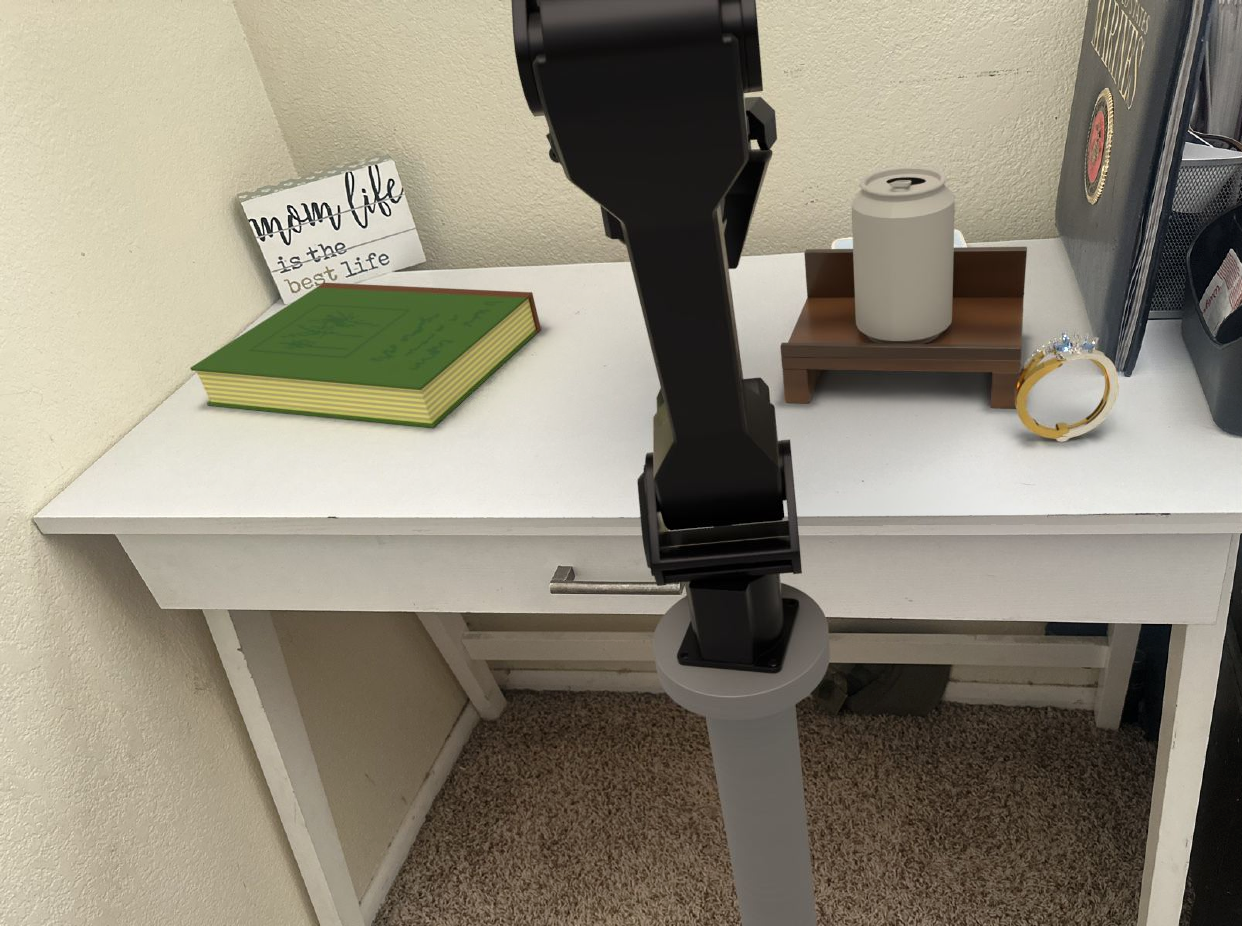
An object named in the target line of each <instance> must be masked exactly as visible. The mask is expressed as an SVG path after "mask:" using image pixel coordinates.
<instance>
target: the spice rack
mask: <svg viewBox="0 0 1242 926" xmlns="http://www.w3.org/2000/svg"><path fill="white" fill-rule="evenodd" d="M803 254H804V268H805V285H806V297H807V298H806V299H805V302H804V305H803V307H802V309H801V311H800V314H799V316H798V318H797V321H796V323H795V326H794V328H793V330H792V332H791V334H790V337H789V339H788V341H787V342H781V343H780V346H779V347H780V359H781V370H782V371H781V372H782V381H783V392H784V402H785V403H791V404H792V403H793V404H796V403H798V404H809V403H810V402H811V400H812V396H813V394H814V391H815V388H816V386H817V383H818V380H819V378H820V375H821V372H822V370H830V371H831V370H833V371H834V370H836V371H838V370H839V371H887V372H888V371H889V372H890V371H892V372H893V371H895V372H896V371H897V372H949V373H951V372H952V373H953V372H954V373H955V372H956V373H960V372H961V373H991V385H990V386H991V389H990V408H991V409H992V408H993V409H995V408H996V409H997V408H999V409H1016V405H1015V399H1014V391H1015V385H1016V381H1017V378H1018V376H1019V373H1020V371H1021V365H1022V350H1023V349H1022V348H1023V345H1022V343H1023V321H1024V300H1025V299H1024V298H1025V285H1026V272H1027V271H1026V270H1027V269H1026V267H1027V256H1028V255H1027V254H1028V246H972V247H971V246H970V247H968V246H967V247H956V248H954V255H953V298H952V322H951V324H950V325H949V326H948V328H947V329H946V330H944V331H943V332H942V333H940V335H939V336H938V337H937V338H935V339H934V340H932V341H930V342H927V343H924V344H879V343H875V342H874V341H872V340H871V339H869V338H868V336H867V335H865V334H864V333H863V332H861V331H860V330H859V329H858V327H857V325H856V314H855V287H854V260H853V249H831V248H810V249H809V248H808V249H807V248H806V249H805V251H804V253H803Z"/></svg>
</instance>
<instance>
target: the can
mask: <svg viewBox="0 0 1242 926" xmlns="http://www.w3.org/2000/svg"><path fill="white" fill-rule="evenodd" d="M947 178H948V177H947V175H946V174H945V173H944V172H943V171H942V170H939V169H937V168H934V167H928V166H921V165H902V166H901V165H900V166H892V167H886V168H882V169H878V170H874V171H872V172H870V173H868V174H866V175H864V176H863V177H862V178H861V179H860V181H859V188H860V190H859V191H858V193H857V194H856V195H855V196H854V197H853V199H852V202H851V227H852V229H851V230H852V237H853V260H854V287H855V314H856V325H857V327H858V329H859V330H860V331H861V332H863V333H864V334H865V335H867V336H868V338H869V339H871V340H872V341H874V342H875V343H879V344H924V343H927V342H930V341H932V340H934V339H935V338H937V337H938V336H939V335H940V333H942V332H943V331H944V330H946V329H947V328H948V326H949V325H950V324H951V322H952V298H953V255H954V229H955V212H956V211H955V210H956V209H955V208H956V207H955V206H956V195H955V194H954V193H953V192H952V190H950V189H949V188H948V186H947V185H946V183H947Z"/></svg>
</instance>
